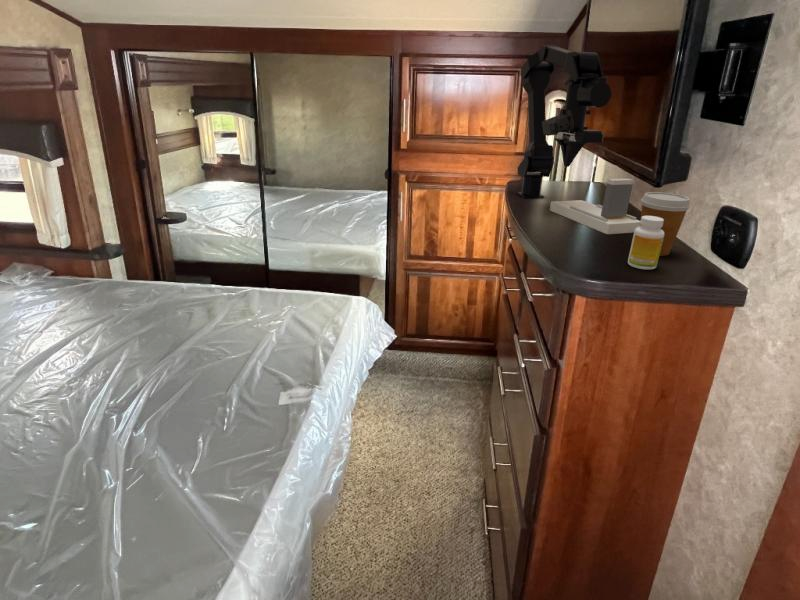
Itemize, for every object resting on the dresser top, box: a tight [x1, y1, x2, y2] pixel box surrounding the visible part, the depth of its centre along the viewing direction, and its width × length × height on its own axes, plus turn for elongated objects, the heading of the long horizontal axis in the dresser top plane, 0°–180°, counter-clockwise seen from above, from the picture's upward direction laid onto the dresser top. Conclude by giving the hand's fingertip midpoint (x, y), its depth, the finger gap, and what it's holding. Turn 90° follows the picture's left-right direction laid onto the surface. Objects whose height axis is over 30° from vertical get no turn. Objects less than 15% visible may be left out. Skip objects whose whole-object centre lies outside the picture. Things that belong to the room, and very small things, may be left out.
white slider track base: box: [549, 199, 641, 235], centre depth 135 cm, size 24×10×3 cm, turn 19°
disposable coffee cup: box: [640, 191, 692, 257], centre depth 110 cm, size 10×10×12 cm
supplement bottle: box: [627, 216, 664, 271], centre depth 102 cm, size 5×5×10 cm
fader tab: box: [601, 178, 634, 218], centre depth 127 cm, size 2×6×9 cm, turn 109°
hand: (566, 166), depth 141 cm, fingers closed
